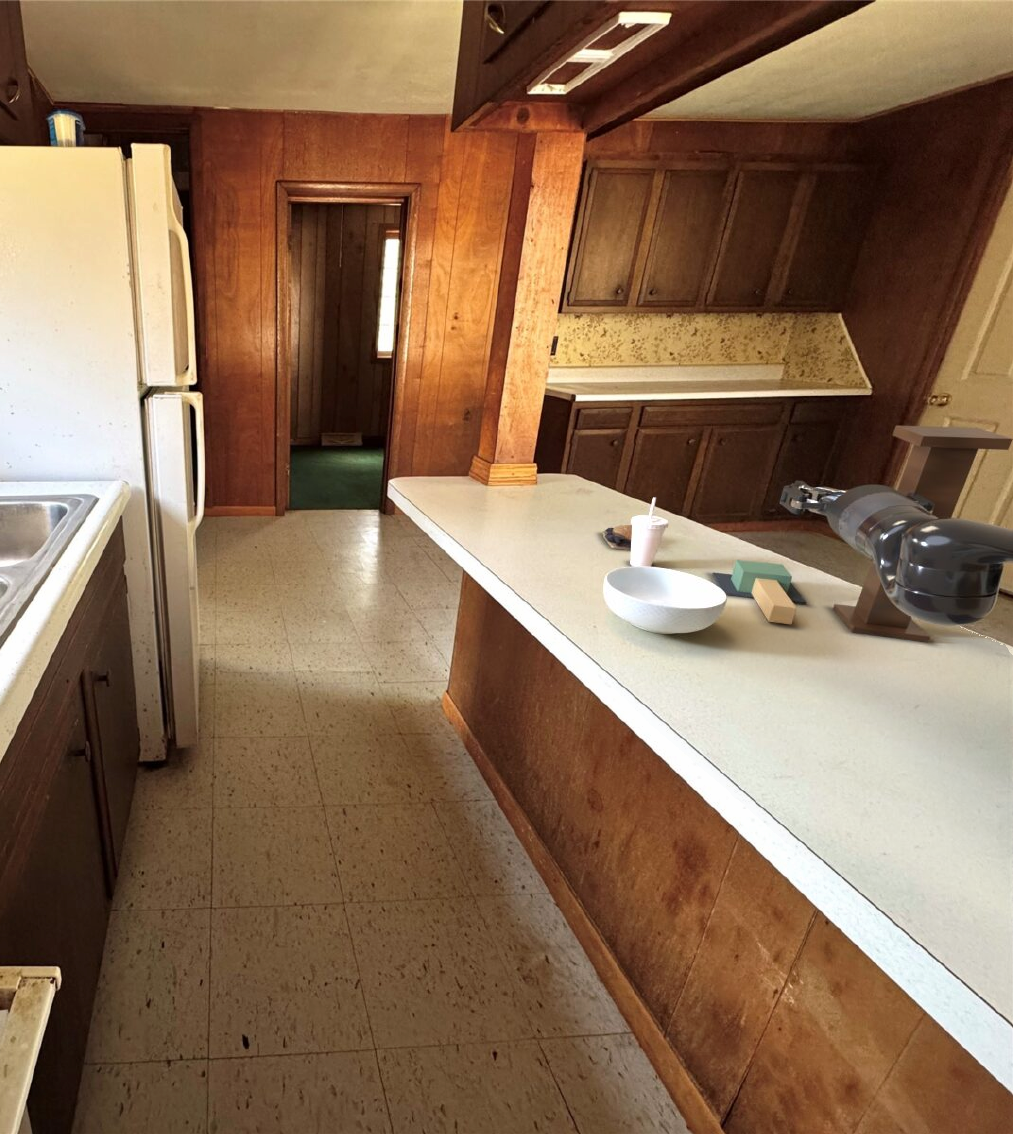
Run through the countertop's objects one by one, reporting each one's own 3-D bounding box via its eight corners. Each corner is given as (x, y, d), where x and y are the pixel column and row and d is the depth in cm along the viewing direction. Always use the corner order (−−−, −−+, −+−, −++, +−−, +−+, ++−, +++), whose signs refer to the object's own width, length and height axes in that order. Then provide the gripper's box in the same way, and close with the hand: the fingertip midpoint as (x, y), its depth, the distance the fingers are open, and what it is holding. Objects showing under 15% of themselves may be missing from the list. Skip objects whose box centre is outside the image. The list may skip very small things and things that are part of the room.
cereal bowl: (627, 648, 96) (636, 607, 94) (581, 602, 112) (587, 566, 109) (741, 647, 95) (753, 606, 93) (678, 601, 111) (687, 564, 108)
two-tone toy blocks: (776, 584, 115) (782, 564, 113) (807, 626, 100) (814, 604, 98) (730, 579, 118) (736, 559, 116) (753, 619, 103) (760, 597, 101)
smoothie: (659, 562, 128) (674, 496, 123) (658, 573, 123) (673, 504, 118) (623, 557, 131) (636, 492, 126) (621, 567, 126) (634, 500, 121)
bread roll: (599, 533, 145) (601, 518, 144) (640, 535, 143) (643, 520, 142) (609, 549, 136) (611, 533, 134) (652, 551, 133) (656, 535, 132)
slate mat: (789, 583, 116) (790, 580, 116) (805, 604, 108) (806, 602, 108) (712, 574, 121) (712, 572, 121) (722, 594, 113) (722, 592, 113)
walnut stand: (902, 617, 102) (977, 427, 91) (928, 642, 95) (1013, 438, 83) (832, 609, 106) (895, 425, 95) (851, 632, 99) (923, 435, 87)
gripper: (797, 545, 80) (765, 510, 93) (948, 559, 74) (890, 519, 87) (814, 488, 77) (779, 460, 90) (972, 498, 71) (909, 466, 85)
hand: (834, 489), depth 89 cm, fingers open, 8 cm apart
